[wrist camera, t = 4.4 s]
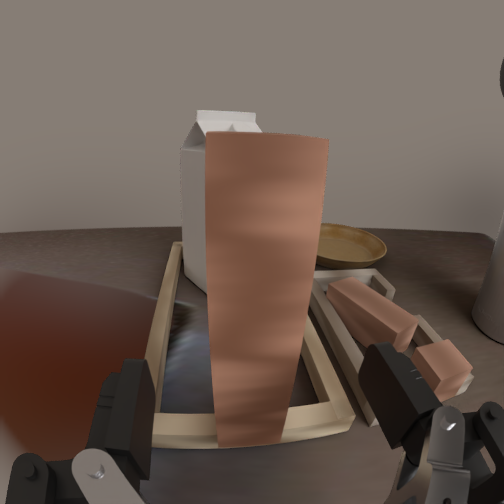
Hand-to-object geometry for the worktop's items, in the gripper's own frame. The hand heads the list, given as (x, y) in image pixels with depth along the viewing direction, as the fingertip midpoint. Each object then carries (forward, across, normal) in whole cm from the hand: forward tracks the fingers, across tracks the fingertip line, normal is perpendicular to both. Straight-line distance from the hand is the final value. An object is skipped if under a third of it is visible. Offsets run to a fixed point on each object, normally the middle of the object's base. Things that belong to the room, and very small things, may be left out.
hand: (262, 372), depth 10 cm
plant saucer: (+30, -17, +10) cm, 36 cm away
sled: (+16, 0, +9) cm, 18 cm away
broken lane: (+11, -13, +9) cm, 20 cm away
